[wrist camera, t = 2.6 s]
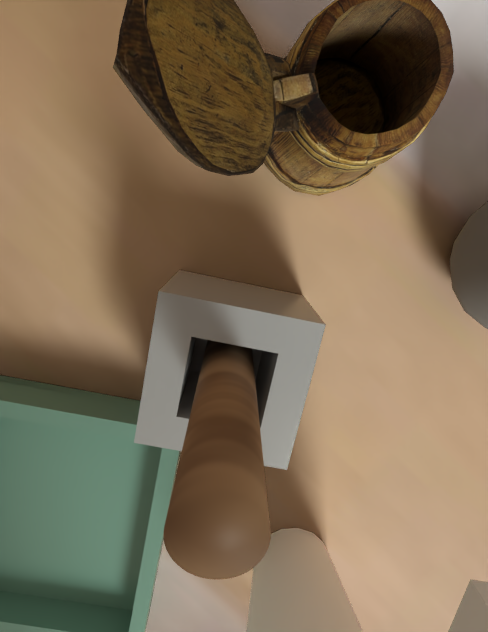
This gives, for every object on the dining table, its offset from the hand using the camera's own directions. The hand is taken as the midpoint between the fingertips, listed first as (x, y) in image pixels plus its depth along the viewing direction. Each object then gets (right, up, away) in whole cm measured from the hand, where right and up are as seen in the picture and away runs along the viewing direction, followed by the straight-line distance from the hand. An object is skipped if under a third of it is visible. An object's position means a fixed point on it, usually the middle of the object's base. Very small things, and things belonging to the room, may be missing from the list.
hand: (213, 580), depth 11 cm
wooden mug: (+4, +19, +17) cm, 26 cm away
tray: (-13, -8, +23) cm, 28 cm away
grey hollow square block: (0, +5, +20) cm, 21 cm away
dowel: (0, +5, +19) cm, 20 cm away
